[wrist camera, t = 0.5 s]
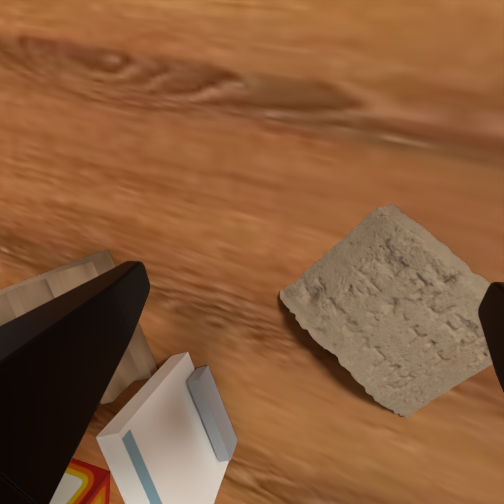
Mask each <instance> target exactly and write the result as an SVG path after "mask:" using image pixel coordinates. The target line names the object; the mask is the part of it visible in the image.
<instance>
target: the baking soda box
mask: <svg viewBox="0 0 504 504" xmlns="http://www.w3.org/2000/svg"><path fill="white" fill-rule="evenodd" d="M109 493H110V471H107V470H104V469H102V468H99V467H96V466H93V465H90V464H87V463H84V462H82V461H79V460H76V459H73V458H72V459H71V461H70V463H69V465H68V467H67V469H66V471H65V473H64V475H63V477H62V479H61V481H60V483H59V485H58V487H57V489H56V491H55V493H54V495H53V497H52V500H51V502H50V504H109Z"/></svg>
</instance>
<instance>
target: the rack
mask: <svg viewBox="0 0 504 504" xmlns="http://www.w3.org/2000/svg"><path fill="white" fill-rule="evenodd" d="M113 268H115V264H114V262H113V260H112V257H111V255H110V252H109V250H104V251H101V252H98V253H95V254H93V255H90V256H87V257H85V258H82V259H80V260H77V261H74V262H72V263H69V264H67V265H64V266H61V267H59V268H56V269H54V270H51V271H48V272H46V273H43V274H40V275H38V276H35V277H33V278H30V279H27V280H25V281H22V282H20V283H17V284H14V285H12V286H9V287H6V288H4V289H1V290H0V326H1V325H3V324H5V323H7V322H9V321H11V320H13V319H15V318H17V317H19V316H21V315H23V314H25V313H27V312H29V311H31V310H33V309H35V308H36V307H38V306H40V305H42V304H44V303H46V302H48V301H50V300H52V299H54V298H56V297H58V296H60V295H62V294H64V293H66V292H68V291H70V290H72V289H74V288H75V287H77V286H79V285H81V284H83V283H85V282H87V281H89V280H91V279H93V278H95V277H97V276H99V275H101V274H103V273H105V272H107V271H109V270H111V269H113ZM157 371H158V369H157V366H156V364H155V361H154V359H153V356H152V354H151V352H150V349H149V347H148V344H147V342H146V339H145V337H144V335H143V332H142V330H141V327H140V325H139V323H138V324H137V326H136V329H135V332H134V334H133V337H132V339H131V341H130V343H129V345H128V347H127V349H126V351H125V353H124V355H123V357H122V359H121V361H120V363H119V365H118V367H117V369H116V371H115V373H114V375H113V377H112V379H111V381H110V383H109V385H108V387H107V389H106V391H105V393H104V395H103V397H102V399H101V401H100V402H101V404H105V403H110V402H113V401H114V400H115V399H116V398H117V397H118V396H119V395H120V394H121V393H122V392H123V391H124V390H125V389H126V388H127V387H128V386H129V385H130V384H131V383H132V382H135V381H140V380H144V379H148V378H151V377H152V376H153V375H154V374H155V373H156V372H157Z"/></svg>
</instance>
